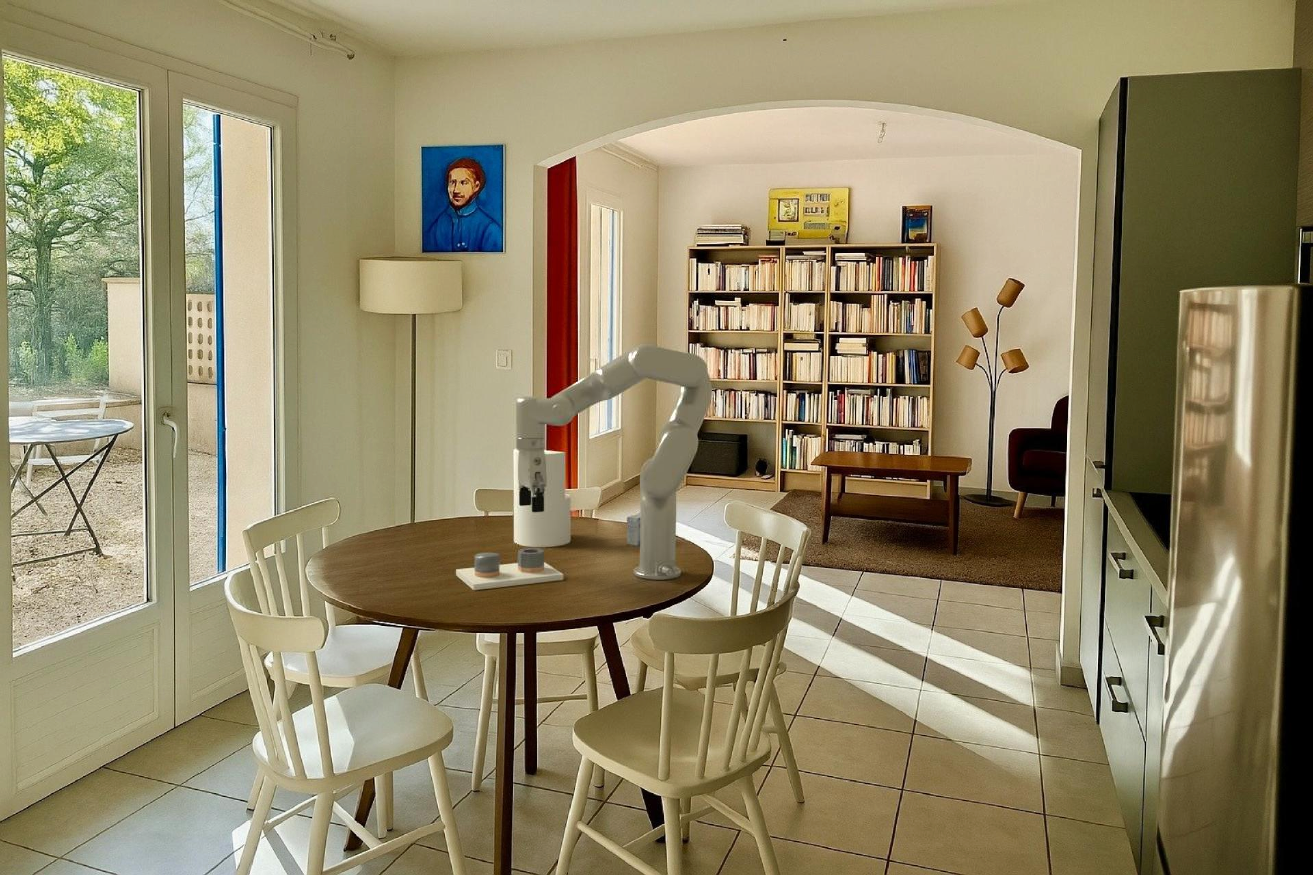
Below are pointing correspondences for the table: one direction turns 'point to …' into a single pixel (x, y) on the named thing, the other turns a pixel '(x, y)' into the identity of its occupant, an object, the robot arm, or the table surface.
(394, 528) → the table surface
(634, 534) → the medicine box
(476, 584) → the pin board
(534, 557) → the sleeve
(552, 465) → the cylinder
